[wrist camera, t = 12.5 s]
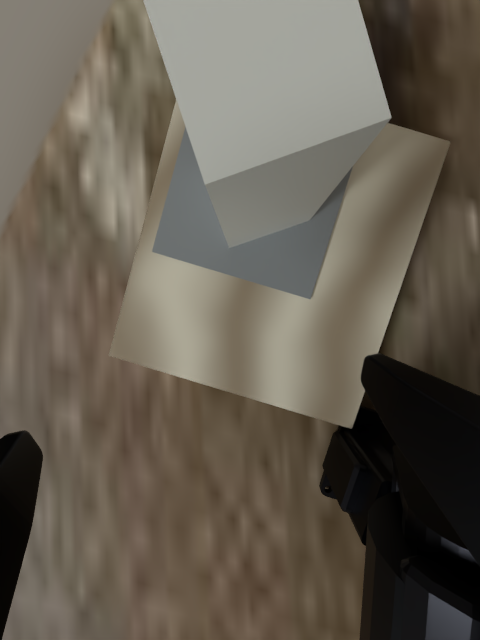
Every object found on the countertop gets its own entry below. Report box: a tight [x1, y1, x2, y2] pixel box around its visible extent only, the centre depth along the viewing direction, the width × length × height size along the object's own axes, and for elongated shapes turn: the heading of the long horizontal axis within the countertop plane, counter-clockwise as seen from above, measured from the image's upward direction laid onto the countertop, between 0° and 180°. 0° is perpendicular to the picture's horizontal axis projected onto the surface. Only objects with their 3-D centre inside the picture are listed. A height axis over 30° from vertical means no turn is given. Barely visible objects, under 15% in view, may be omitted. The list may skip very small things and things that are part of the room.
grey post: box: [144, 0, 392, 248], centre depth 12 cm, size 5×5×10 cm
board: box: [109, 100, 451, 429], centre depth 18 cm, size 16×18×2 cm
